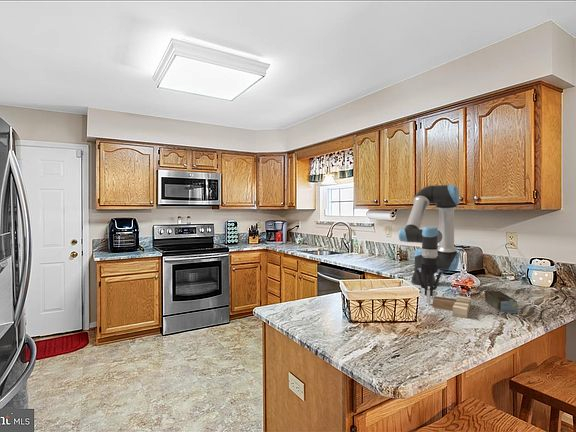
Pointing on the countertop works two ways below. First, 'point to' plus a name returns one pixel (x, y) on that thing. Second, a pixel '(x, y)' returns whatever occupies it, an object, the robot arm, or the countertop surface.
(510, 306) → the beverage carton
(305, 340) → the countertop surface
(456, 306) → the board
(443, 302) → the block
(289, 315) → the countertop surface
